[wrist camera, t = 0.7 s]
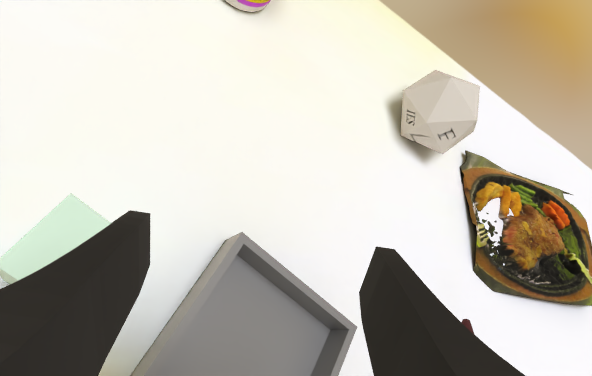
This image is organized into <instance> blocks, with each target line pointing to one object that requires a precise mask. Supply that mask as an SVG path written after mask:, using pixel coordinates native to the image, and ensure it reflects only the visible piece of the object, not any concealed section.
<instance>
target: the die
mask: <svg viewBox="0 0 592 376" xmlns="http://www.w3.org/2000/svg"><path fill="white" fill-rule="evenodd" d="M479 90H480V86H478V85H475V84H473V83H470V82H467V81H464V80H462V79H459V78H456V77H453V76H451V75H448V74H445V73H442V72H440V71H437V70H434V71H433V72H431V73H430V74H428V75H427V76H425V77H423V78H422V79H420V80H419V81H417V82H416V83H414V84H413V85H411V86H409V87H408V88H406V89H405V90H403V101H402V119H401V136H403V137H405V138H408V139H410V140H412V141H415V142H417V143H419V144H421V145H424V146H426V147H428V148H430V149H433V150H435V151H437V152H439V153H442V154H444V153H445V152H446V151H448V150H449V149H450V148H452V147H453V146H454V145H456V144H457V143H458V142H460V141H461V140H463V139H464V138H465V137H467V136H468V135H469V134H471V133H472V132H473V131H474V128H475V125H476V122H477V117H478V103H479Z"/></svg>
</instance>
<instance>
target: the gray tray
mask: <svg viewBox="0 0 592 376" xmlns="http://www.w3.org/2000/svg"><path fill="white" fill-rule="evenodd" d="M356 329H357V326H355V325H354V324H353V323H352V322H351V321H349V320H348V319H347V318H346V317H345V316H343V315H342V314H341V313H340V312H338V311H337V310H336V309H335V308H334V307H332V306H331V305H330V304H329V303H328V302H326V301H325V300H324V299H323V298H321V297H320V296H319V295H318V294H317V293H315V292H314V291H313V290H312V289H311V288H309V287H308V286H307V285H306V284H304V283H303V282H302V281H301V280H300V279H298V278H297V277H296V276H295V275H294V274H292V273H291V272H290V271H289V270H287V269H286V268H285V267H284V266H283V265H281V264H280V263H279V262H278V261H277V260H275V259H274V258H273V257H272V256H270V255H269V254H268V253H267V252H266V251H264V250H263V249H262V248H261V247H260V246H258V245H257V244H256V243H255V242H253V241H252V240H251V239H250V238H249V237H247V236H246V235H245V234H244V233H243V232H241V233H239V234H237V235H235V236H233V237H231V238H229V239H227V240H225V242H224V243H223V245H222V246H221V247H220V249H219V250H218V252H217V253H216V255H215V256H214V257H213V259H212V260H211V262H210V263H209V265H208V266H207V267H206V269H205V270H204V272H203V273H202V274H201V276H200V277H199V279H198V280H197V282H196V283H195V284H194V286H193V287H192V289H191V290H190V292H189V293H188V294H187V296H186V297H185V299H184V300H183V301H182V303H181V304H180V306H179V307H178V309H177V310H176V311H175V313H174V314H173V316H172V317H171V319H170V320H169V321H168V323H167V324H166V326H165V327H164V328H163V330H162V331H161V333H160V334H159V336H158V337H157V338H156V340H155V341H154V343H153V344H152V346H151V347H150V348H149V350H148V351H147V353H146V354H145V355H144V357H143V358H142V360H141V361H140V363H139V364H138V365H137V367H136V368H135V370H134V371H133V373H132V374H131V375H130V376H338V375H339V372H340V370H341V367H342V364H343V362H344V359H345V357H346V354H347V352H348V349H349V347H350V344H351V341H352V339H353V336H354V334H355V331H356Z"/></svg>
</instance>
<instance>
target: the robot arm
mask: <svg viewBox="0 0 592 376" xmlns="http://www.w3.org/2000/svg"><path fill="white" fill-rule="evenodd" d="M149 266H150V213H143V212H137V211H128V212H127V213H125V214H124V215H122V216H121V217H120V218H118V219H117V220H115V221H114V222H112V223H111V224H110V225H108V226H107V227H105V228H104V229H103V230H101V231H100V232H98V233H97V234H95V235H94V236H92V237H91V238H89V239H88V240H86V241H85V242H83V243H82V244H81V245H79V246H78V247H76V248H74V249H73V250H71V251H70V252H68V253H66V254H65V255H63V256H61V257H60V258H58V259H57V260H55V261H53V262H52V263H50V264H48V265H47V266H45V267H43V268H41V269H39V270H38V271H36V272H34V273H32V274H30V275H28V276H26V277H24V278H22V279H20V280H18V281H16V282H14V283H12V284H10V285H8V286H6V287H4V288H2V289H0V376H98V375H99V372H100V370H101V368H102V366H103V364H104V362H105V359H106V357H107V355H108V353H109V352H110V350H111V348H112V346H113V344H114V342H115V340H116V338H117V336H118V334H119V332H120V330H121V328H122V326H123V325H124V323H125V321H126V319H127V317H128V315H129V313H130V311H131V309H132V307H133V305H134V303H135V301H136V299H137V297H138V295H139V293H140V290H141V288H142V285H143V282H144V280H145V277H146V274H147V271H148V268H149ZM359 295H360V308H361V318H362V324H363V329H364V334H365V338H366V343H367V347H368V351H369V356H370V360H371V364H372V369H373V373H374V376H525V375H524V374H522V373H521V372H520V371H518V370H517V369H516V368H514V367H513V366H512V365H510V364H509V363H508V362H507V361H505V360H504V359H503V358H501V357H500V356H499V355H498V354H496V353H495V352H494V351H493V350H491V349H490V348H489V347H488V346H487V345H486V344H484V343H483V342H482V341H481V340H480V339H479V338H478V337H476V336H475V335H474V334H473V333H472V332H471V331H470V330H469V329H468V328H466V327H465V326H464V325H463V324H462V323H461V322H460V321H459V320H458V319H457V318H456V317H455V316H454V315H453V314H452V313H451V312H450V311H449V310H448V309H447V308H446V307H445V306H444V305H443V304H442V303H441V302H440V300H439V299H438V298H437V297H436V296H435V295H434V294H433V293H432V292H431V291H430V290H429V288H428V287H427V286H426V285H425V284H424V283H423V282H422V280H421V279H420V278H419V277H418V276H417V275H416V274H415V272H414V271H413V270H412V269H411V268H410V267H409V265H408V264H407V263H406V262H405V261H404V260H403V258H402V257H401V256H400V255H399V254H398V253H397V252H396V251H395V250H394V249H389V248H382V247H376V249H375V251H374V254H373V257H372V259H371V262H370V265H369V267H368V270H367V273H366V276H365V278H364V281H363V284H362V286H361V289H360V292H359Z"/></svg>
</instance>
